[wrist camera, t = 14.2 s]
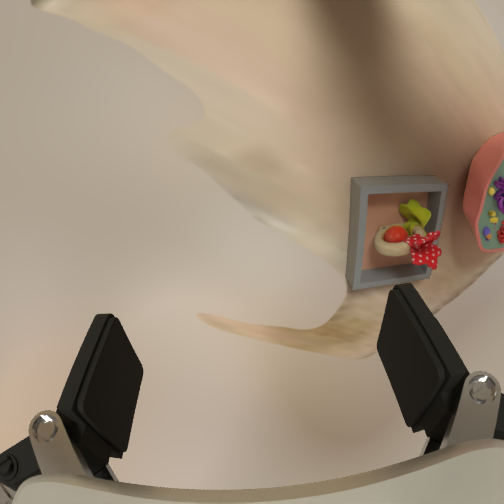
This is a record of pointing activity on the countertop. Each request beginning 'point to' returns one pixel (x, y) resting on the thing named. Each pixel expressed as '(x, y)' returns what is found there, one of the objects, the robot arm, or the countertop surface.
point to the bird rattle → (410, 236)
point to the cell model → (487, 195)
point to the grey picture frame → (383, 214)
